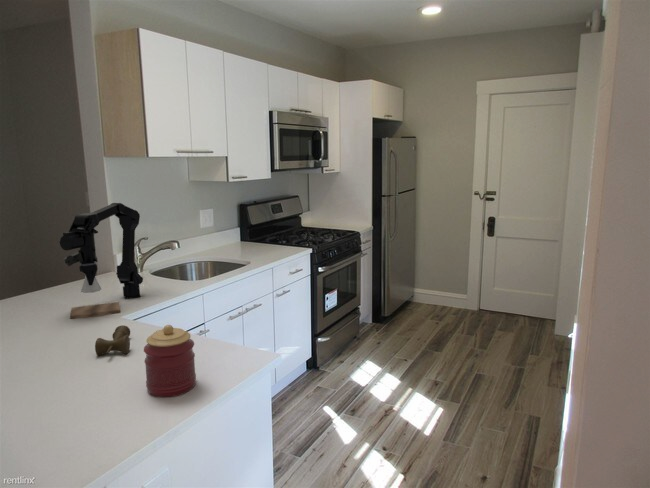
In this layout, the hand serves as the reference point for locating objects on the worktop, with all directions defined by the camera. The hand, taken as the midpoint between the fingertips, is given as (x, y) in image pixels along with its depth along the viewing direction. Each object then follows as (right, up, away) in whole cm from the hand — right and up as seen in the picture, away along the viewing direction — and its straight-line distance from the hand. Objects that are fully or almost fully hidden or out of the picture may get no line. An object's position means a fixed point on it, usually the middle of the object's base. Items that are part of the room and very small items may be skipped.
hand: (90, 283), depth 189 cm
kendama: (+26, -19, -36) cm, 48 cm away
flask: (0, -3, +1) cm, 3 cm away
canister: (+53, -23, -61) cm, 84 cm away
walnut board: (+1, -12, +2) cm, 12 cm away
